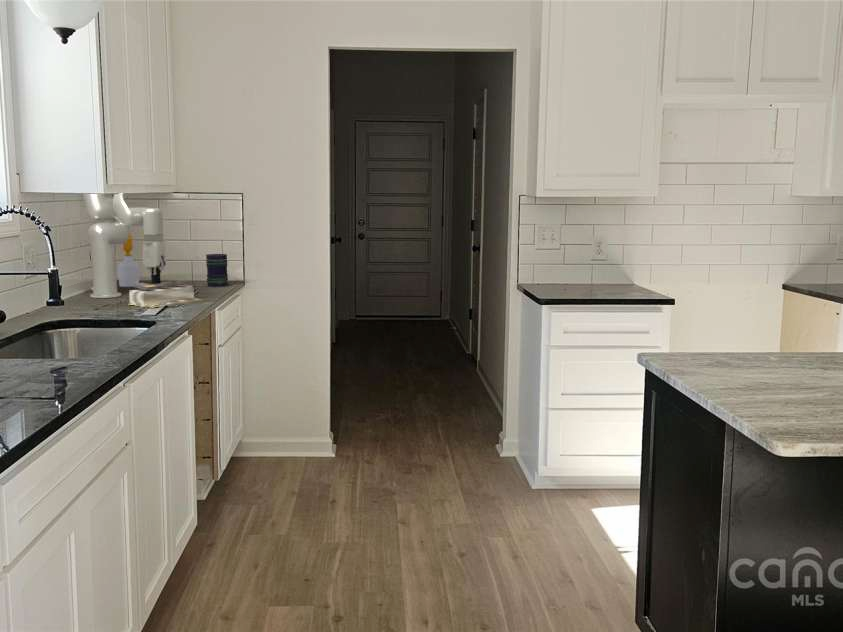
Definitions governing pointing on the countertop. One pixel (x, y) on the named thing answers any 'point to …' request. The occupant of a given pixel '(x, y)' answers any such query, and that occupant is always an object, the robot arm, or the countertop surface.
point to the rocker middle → (163, 284)
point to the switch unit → (163, 296)
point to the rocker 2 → (180, 282)
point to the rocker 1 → (144, 286)
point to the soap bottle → (128, 267)
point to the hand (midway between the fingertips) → (156, 283)
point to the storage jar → (217, 270)
